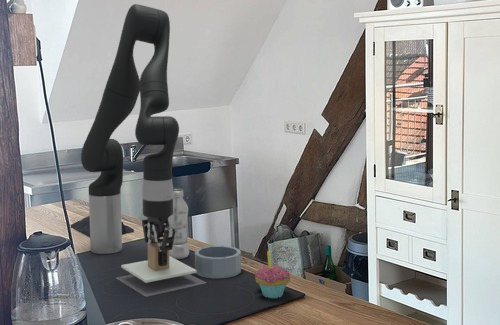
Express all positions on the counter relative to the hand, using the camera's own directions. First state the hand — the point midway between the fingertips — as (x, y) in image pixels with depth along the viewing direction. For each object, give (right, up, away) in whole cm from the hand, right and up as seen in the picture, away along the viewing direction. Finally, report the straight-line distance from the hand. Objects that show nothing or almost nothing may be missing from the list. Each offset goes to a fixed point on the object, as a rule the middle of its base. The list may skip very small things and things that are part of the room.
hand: (158, 262), depth 165 cm
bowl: (+15, -4, +8) cm, 17 cm away
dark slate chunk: (-27, +2, +55) cm, 61 cm away
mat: (0, -5, +1) cm, 5 cm away
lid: (0, -2, 0) cm, 2 cm away
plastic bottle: (+2, -2, +22) cm, 22 cm away
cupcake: (+29, -7, -7) cm, 30 cm away
